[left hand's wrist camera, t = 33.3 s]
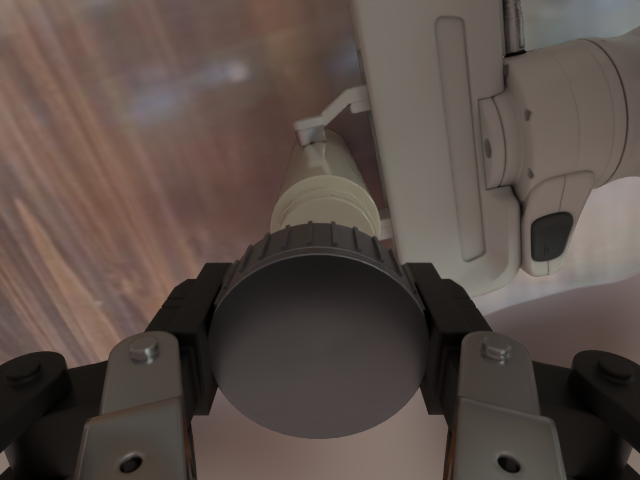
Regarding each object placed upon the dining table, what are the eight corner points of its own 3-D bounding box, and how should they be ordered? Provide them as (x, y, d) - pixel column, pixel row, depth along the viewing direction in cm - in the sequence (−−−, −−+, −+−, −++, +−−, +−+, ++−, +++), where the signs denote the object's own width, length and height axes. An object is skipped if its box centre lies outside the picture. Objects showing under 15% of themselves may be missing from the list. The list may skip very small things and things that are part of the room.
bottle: (341, 191, 33) (369, 309, 16) (287, 179, 33) (255, 286, 16) (355, 135, 32) (403, 201, 14) (298, 122, 31) (277, 172, 14)
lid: (432, 227, 10) (456, 259, 8) (399, 392, 12) (414, 448, 10) (221, 210, 10) (200, 240, 8) (223, 380, 12) (205, 434, 10)
